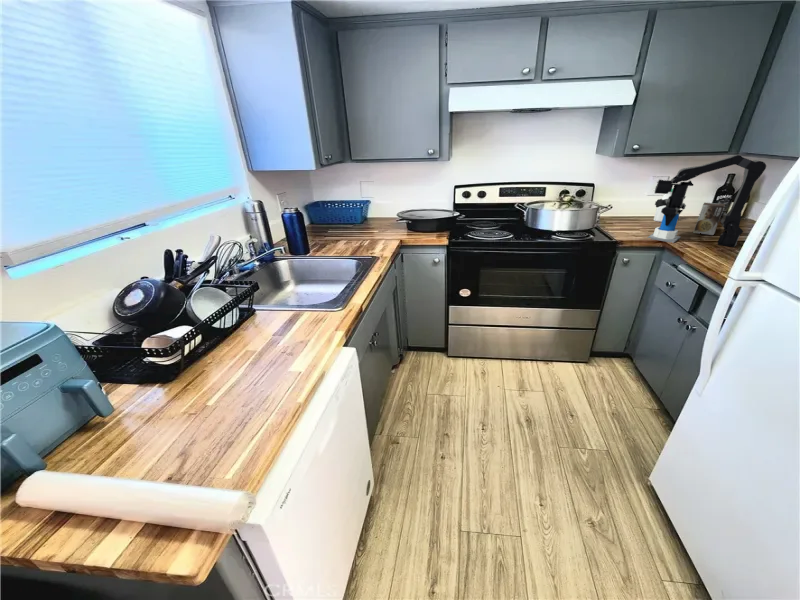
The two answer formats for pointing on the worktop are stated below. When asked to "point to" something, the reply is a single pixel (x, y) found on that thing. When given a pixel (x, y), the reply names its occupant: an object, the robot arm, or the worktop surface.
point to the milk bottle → (658, 214)
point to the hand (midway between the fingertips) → (668, 224)
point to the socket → (665, 235)
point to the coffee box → (709, 218)
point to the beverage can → (671, 226)
